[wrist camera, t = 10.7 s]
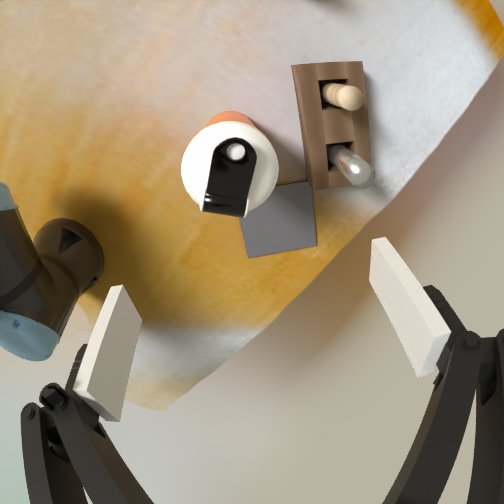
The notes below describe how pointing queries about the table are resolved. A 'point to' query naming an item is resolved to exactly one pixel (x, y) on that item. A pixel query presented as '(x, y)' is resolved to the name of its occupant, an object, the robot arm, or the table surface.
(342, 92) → the dowel
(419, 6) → the table surface
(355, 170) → the peg
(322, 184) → the hole block
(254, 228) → the mat
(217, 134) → the shaker bottle
